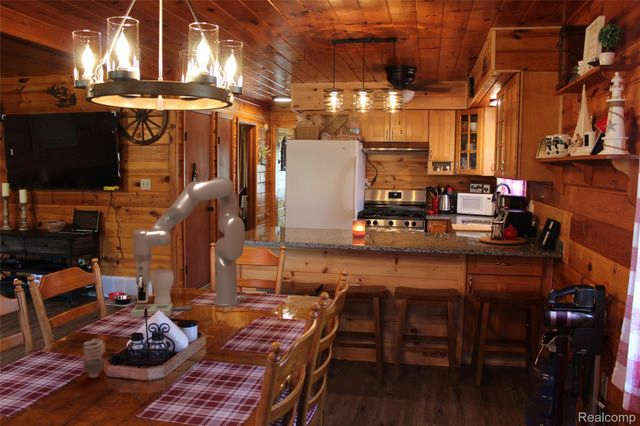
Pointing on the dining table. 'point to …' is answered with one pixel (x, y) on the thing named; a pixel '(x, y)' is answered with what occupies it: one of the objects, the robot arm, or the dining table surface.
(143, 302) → the block
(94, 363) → the light bulb
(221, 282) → the robot arm
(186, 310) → the phone
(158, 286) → the cup
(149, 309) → the outlet board
